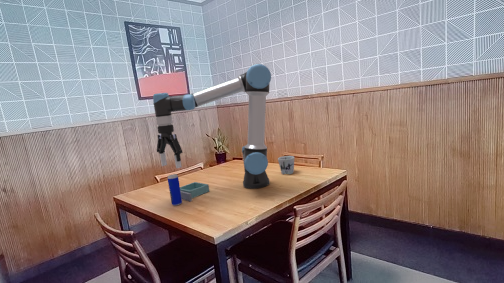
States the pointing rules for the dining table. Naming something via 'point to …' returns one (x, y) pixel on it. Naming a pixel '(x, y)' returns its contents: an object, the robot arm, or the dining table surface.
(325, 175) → the dining table surface
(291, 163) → the mug
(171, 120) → the robot arm
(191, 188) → the teal open drawer
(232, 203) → the dining table surface
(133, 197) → the dining table surface
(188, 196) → the block
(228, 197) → the dining table surface
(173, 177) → the beverage can
